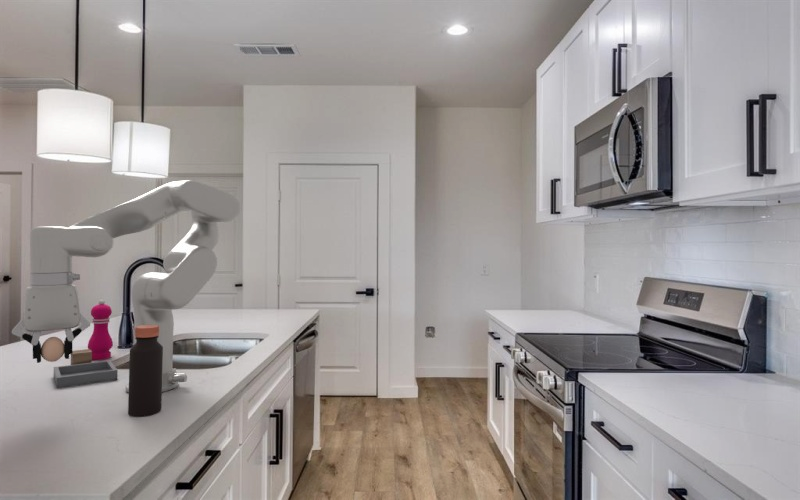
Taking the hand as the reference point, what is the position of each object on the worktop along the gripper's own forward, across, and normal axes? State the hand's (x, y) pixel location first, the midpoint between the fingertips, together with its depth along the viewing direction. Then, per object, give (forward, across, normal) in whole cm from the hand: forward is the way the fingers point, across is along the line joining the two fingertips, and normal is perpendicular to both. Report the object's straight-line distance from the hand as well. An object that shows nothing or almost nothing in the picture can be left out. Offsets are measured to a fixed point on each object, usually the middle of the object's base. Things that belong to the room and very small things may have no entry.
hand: (53, 358), depth 104 cm
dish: (+13, -9, -28) cm, 32 cm away
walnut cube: (+13, -9, -44) cm, 47 cm away
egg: (+1, 0, 0) cm, 1 cm away
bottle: (+13, -16, +12) cm, 24 cm away
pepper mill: (+14, -15, -54) cm, 58 cm away
